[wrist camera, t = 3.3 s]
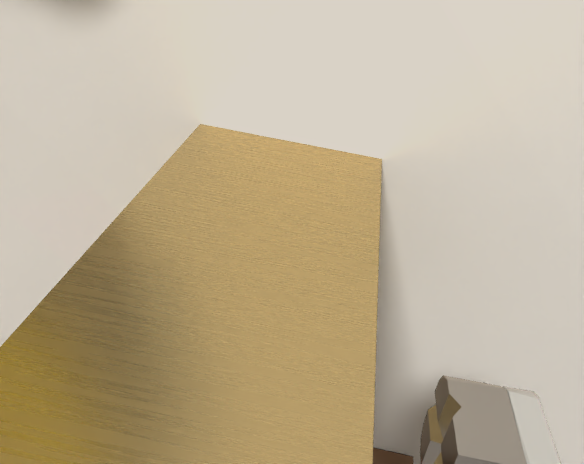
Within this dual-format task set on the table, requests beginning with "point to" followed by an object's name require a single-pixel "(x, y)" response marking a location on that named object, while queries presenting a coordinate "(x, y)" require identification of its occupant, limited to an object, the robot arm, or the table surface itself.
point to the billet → (211, 318)
